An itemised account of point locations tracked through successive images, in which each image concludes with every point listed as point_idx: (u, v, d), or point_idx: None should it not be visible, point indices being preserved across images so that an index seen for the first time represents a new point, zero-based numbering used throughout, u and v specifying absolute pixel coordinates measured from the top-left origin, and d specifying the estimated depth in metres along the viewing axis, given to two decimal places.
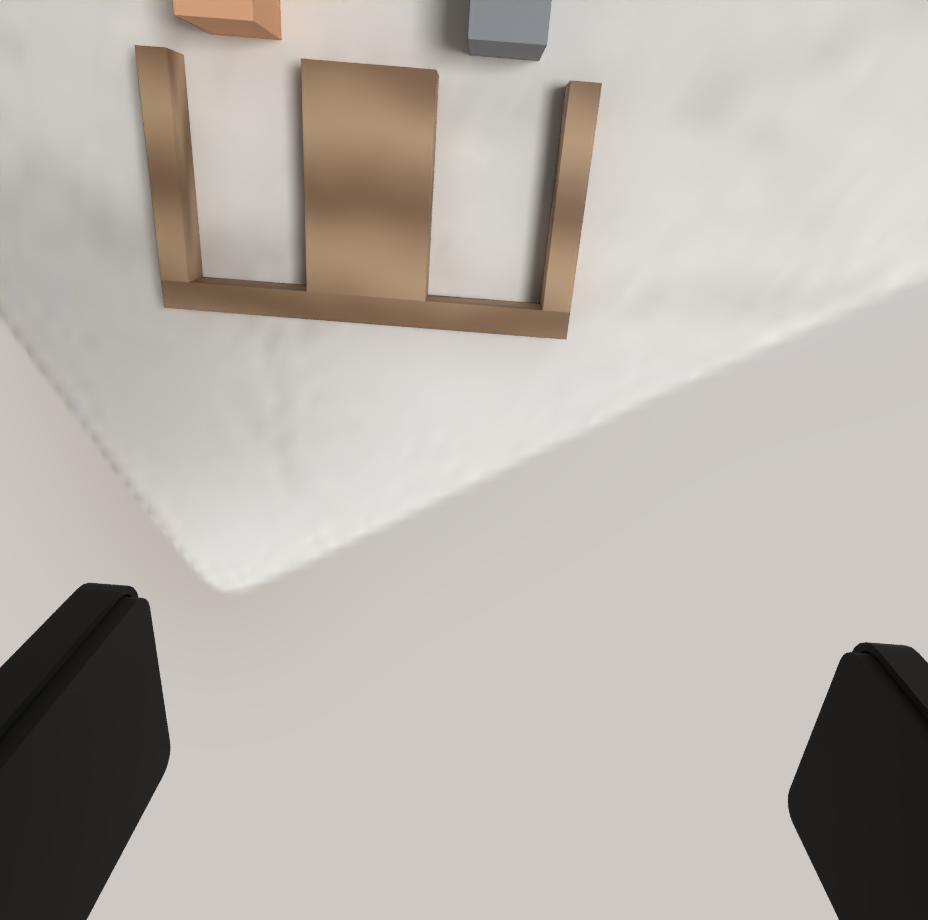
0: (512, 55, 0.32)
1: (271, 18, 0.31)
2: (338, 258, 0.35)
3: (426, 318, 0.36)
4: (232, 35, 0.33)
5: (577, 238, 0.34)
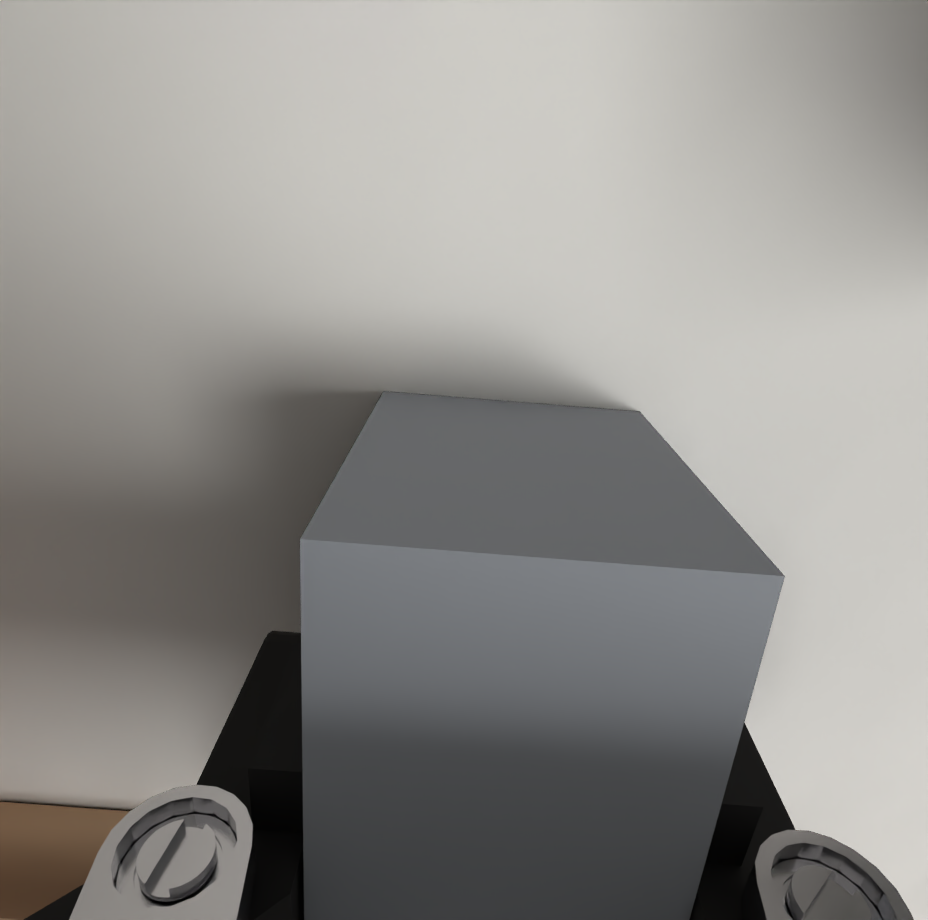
0: None
1: None
2: None
3: None
4: None
5: None
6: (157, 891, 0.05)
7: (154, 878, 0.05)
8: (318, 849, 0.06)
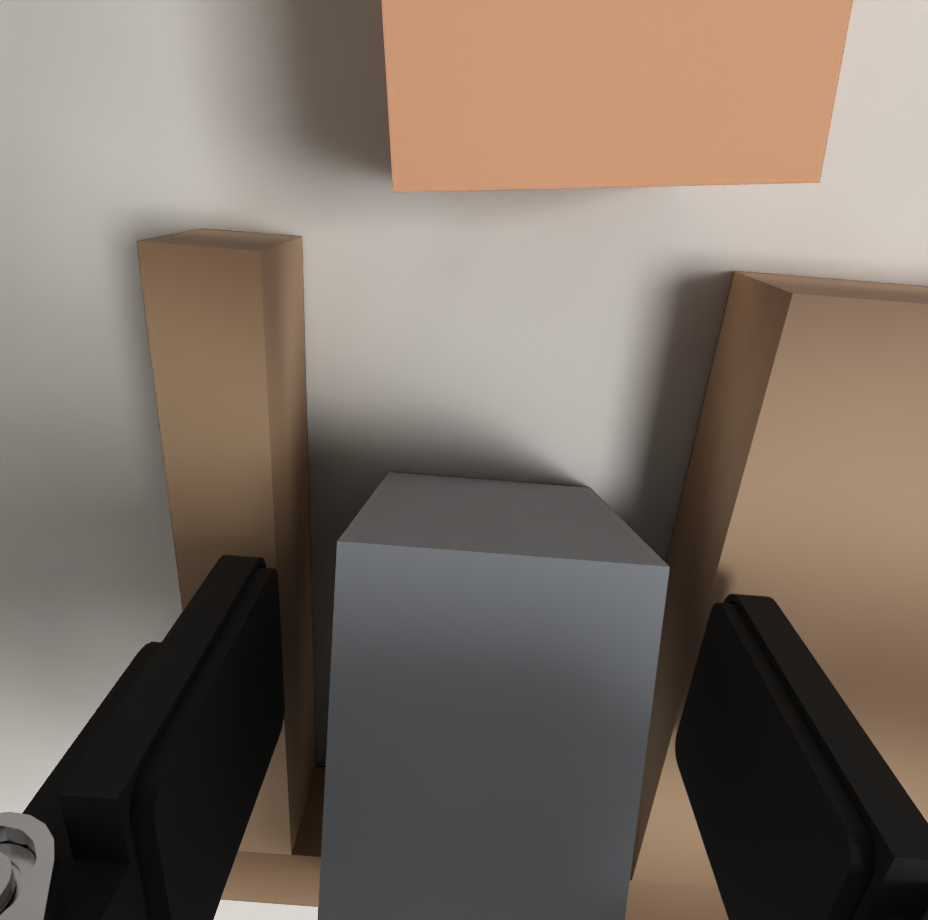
0: None
1: None
2: None
3: None
4: None
5: None
6: None
7: None
8: (335, 804, 0.07)
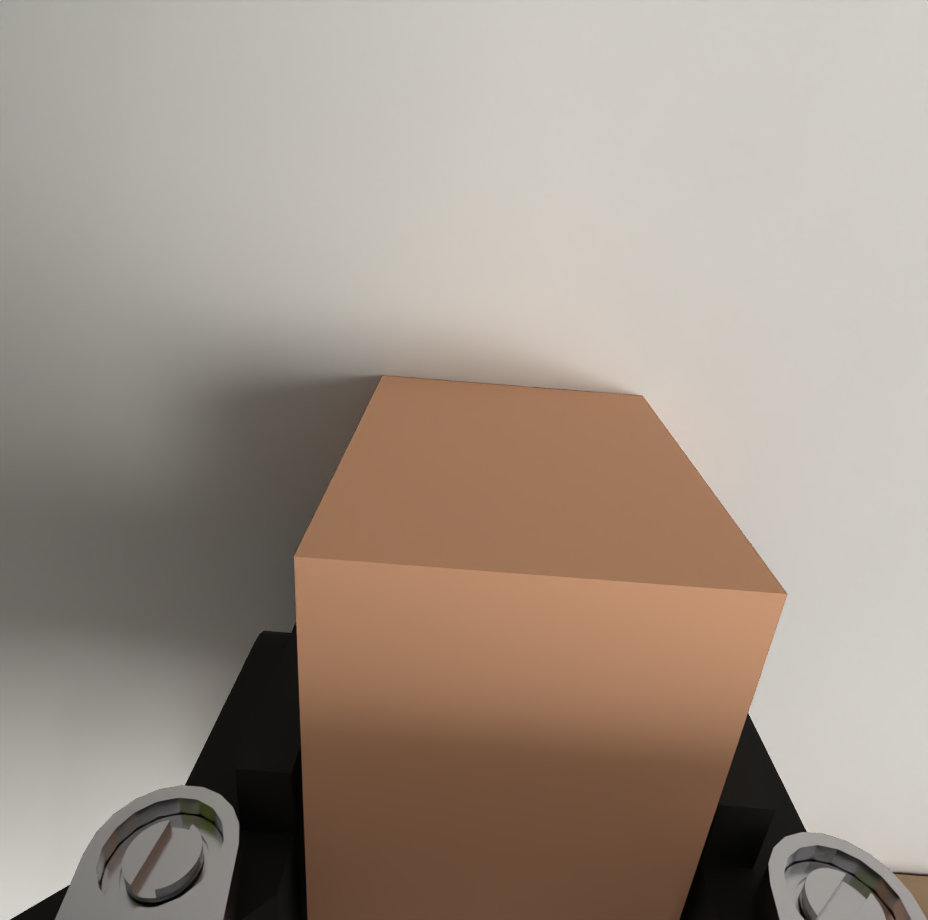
0: None
1: None
2: None
3: None
4: None
5: None
6: (143, 892, 0.05)
7: (140, 879, 0.05)
8: None
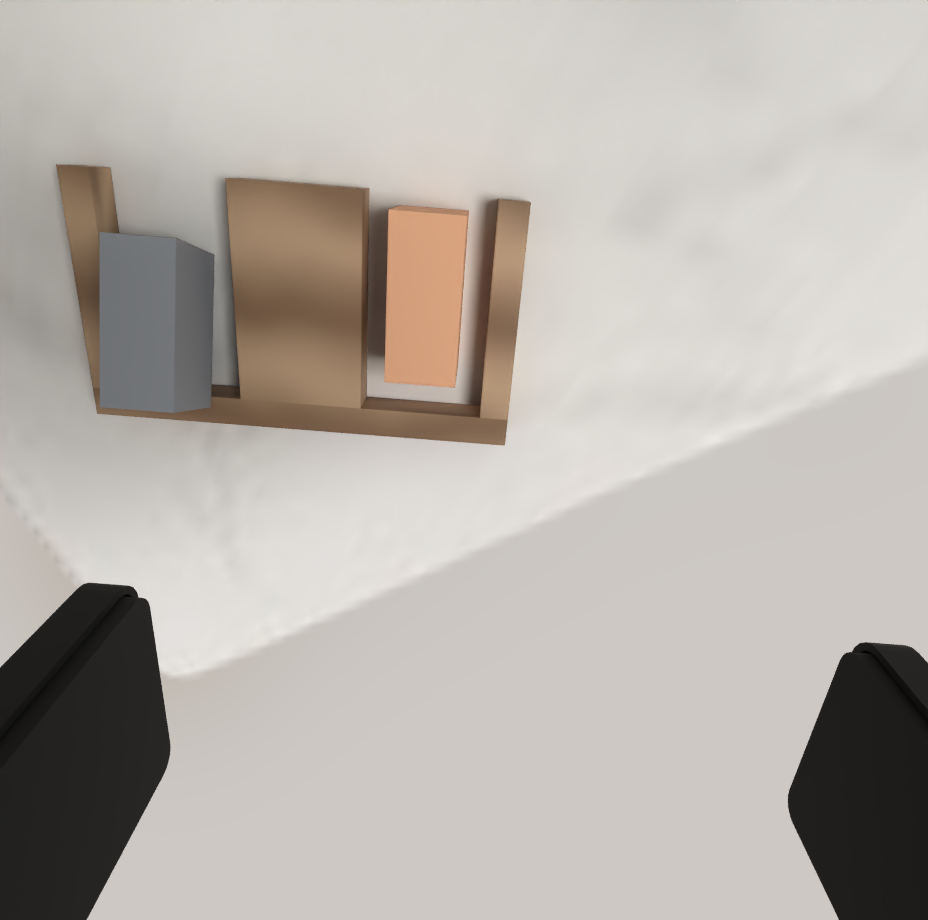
0: None
1: None
2: (271, 367, 0.34)
3: (362, 424, 0.36)
4: None
5: (512, 349, 0.34)
6: None
7: None
8: (102, 299, 0.30)
